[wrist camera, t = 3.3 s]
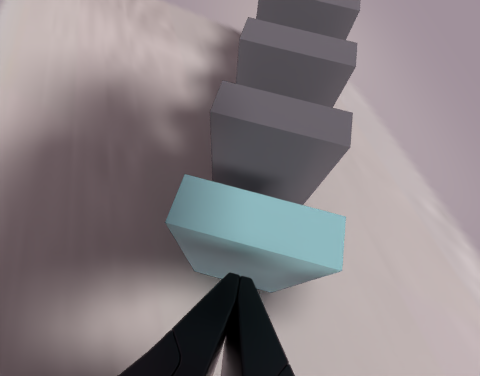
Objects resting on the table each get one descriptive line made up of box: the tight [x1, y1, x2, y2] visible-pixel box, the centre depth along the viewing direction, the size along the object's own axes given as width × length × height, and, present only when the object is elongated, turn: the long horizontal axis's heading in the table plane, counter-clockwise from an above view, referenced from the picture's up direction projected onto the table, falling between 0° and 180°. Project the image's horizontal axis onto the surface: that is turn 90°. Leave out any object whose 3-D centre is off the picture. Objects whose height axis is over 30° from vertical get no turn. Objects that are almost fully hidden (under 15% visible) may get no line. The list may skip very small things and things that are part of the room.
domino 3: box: [210, 80, 353, 205], centre depth 14 cm, size 2×5×10 cm, turn 76°
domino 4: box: [165, 174, 346, 293], centre depth 12 cm, size 2×5×10 cm, turn 76°
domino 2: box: [236, 17, 357, 108], centre depth 15 cm, size 2×5×10 cm, turn 76°
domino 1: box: [256, 0, 360, 40], centre depth 17 cm, size 2×5×10 cm, turn 76°
